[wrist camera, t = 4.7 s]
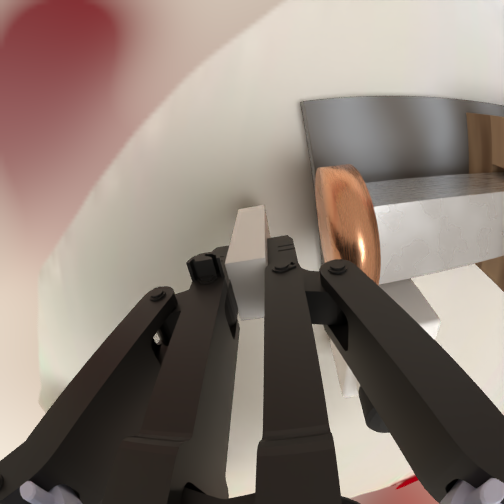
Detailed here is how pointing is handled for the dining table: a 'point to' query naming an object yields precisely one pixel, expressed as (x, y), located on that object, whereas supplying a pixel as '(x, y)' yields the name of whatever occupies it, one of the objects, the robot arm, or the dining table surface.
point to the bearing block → (407, 141)
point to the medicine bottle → (420, 311)
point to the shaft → (409, 221)
